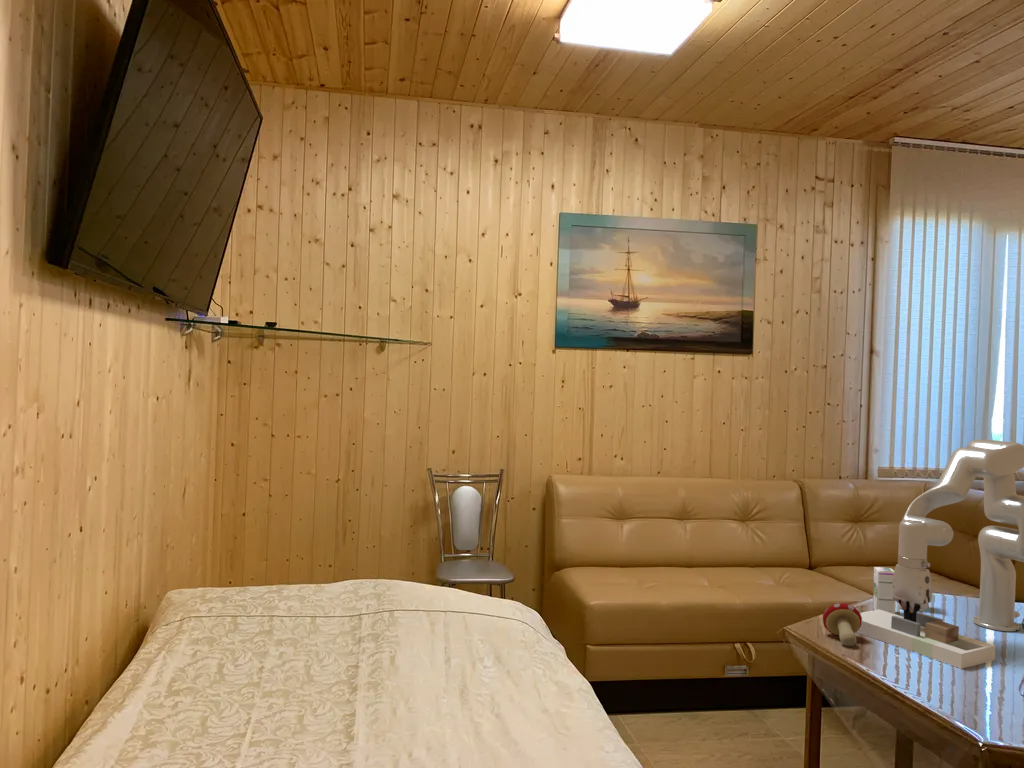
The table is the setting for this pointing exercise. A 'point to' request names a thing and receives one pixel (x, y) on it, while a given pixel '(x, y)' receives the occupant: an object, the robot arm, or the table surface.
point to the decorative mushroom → (843, 622)
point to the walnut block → (941, 631)
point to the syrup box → (883, 589)
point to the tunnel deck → (924, 639)
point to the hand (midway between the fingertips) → (909, 624)
